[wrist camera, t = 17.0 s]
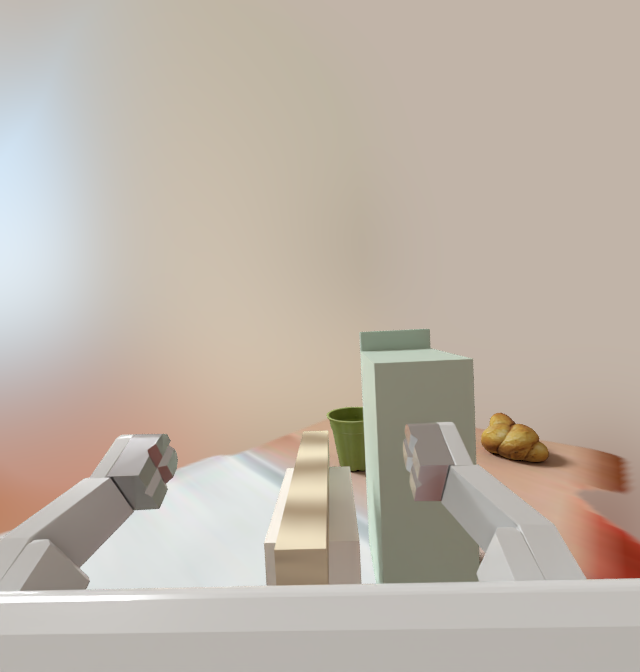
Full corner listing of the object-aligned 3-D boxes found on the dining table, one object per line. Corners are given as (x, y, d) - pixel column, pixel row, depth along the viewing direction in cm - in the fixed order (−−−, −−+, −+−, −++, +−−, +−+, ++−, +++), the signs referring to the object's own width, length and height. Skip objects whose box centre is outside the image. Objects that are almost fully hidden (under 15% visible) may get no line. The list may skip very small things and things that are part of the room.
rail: (328, 598, 18) (325, 548, 18) (277, 600, 18) (274, 549, 18) (329, 455, 38) (328, 430, 38) (304, 456, 38) (303, 431, 38)
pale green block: (482, 642, 30) (471, 331, 29) (386, 643, 30) (373, 336, 29) (434, 540, 44) (426, 328, 43) (369, 542, 44) (359, 332, 43)
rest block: (368, 736, 24) (359, 540, 23) (275, 736, 24) (264, 542, 23) (355, 597, 36) (349, 466, 35) (294, 598, 36) (286, 468, 35)
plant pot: (388, 456, 72) (386, 407, 72) (377, 481, 61) (374, 423, 61) (338, 451, 77) (336, 404, 76) (320, 473, 66) (318, 419, 65)
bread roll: (558, 460, 66) (557, 422, 66) (530, 472, 62) (529, 432, 61) (499, 441, 78) (498, 409, 77) (472, 450, 73) (471, 416, 73)
